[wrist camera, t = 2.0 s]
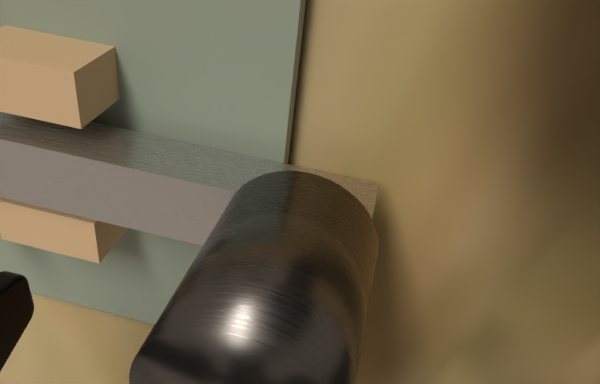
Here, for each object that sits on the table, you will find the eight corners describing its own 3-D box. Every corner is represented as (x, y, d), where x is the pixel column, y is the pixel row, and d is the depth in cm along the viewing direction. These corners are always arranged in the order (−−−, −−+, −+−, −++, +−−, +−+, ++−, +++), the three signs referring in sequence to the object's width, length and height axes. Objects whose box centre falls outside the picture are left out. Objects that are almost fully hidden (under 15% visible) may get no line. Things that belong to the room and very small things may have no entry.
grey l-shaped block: (404, 133, 13) (370, 350, 7) (370, 273, 15) (325, 512, 10) (-68, 38, 14) (-380, 159, 9) (-29, 179, 17) (-253, 340, 11)
